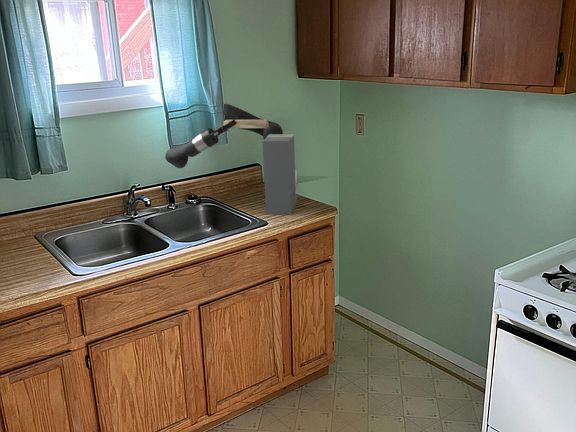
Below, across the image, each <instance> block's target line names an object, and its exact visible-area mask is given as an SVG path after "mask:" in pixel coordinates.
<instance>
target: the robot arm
mask: <svg viewBox="0 0 576 432" xmlns="http://www.w3.org/2000/svg"><path fill="white" fill-rule="evenodd" d="M223 104H224V115H225V120H232V121H231V122H229V123H227V124H225V125H224V123H223V124H222V125H220V126H217V127H216V128H214V129H213V128H211V127H208V128H206V129H205V130H203V131H202V132H200V133H198V134H197V135H196V136H195V137H193V138H192V139H189V142H187V143H185V144H181V145H179V146H178V147H176V148H175V149H171V148H169V149H168V150H167V151H166V153H165V156H164V158H165V160H166V162H168V163H169V164H171V165H172V166H173V167H175V168H177V169H183V168H184V167H186V166H187V164H188V161H189V157H190V158H194V157H196V156H198V155H200V154H201V153H202V152H205V151H207V150H209V149H210V148H212V147H213V146H215V145H216V144H218V143H219V141H220V139H219V137H222V136H223V135H224V134H225V133H227V132H228V131H229V130H230V129H232V128H231V127H232V126H234V125H236V124H237V123H236V121H235V120H265V119H263V118H260V117H259V116H256V115H254V114H252V113H250V112H248V111H246V110H243V109H241V108H239V107H236V106H235V105H232V104H228V103H223ZM238 129H240V130H242V131H243V130H245V131H248V132H249V131H250V132H253V133H256V134H258V135H259V136H261V137H262V138H263V140H264V139H265V138H266V137H267V136H268V135H269V134H284V132H283V127H282V126H281V124H279V123H277V122H275V121H274V122H273V121H270V120H268V127H267V128H238ZM263 140H262V141H263Z"/></svg>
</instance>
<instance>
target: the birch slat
mask: <svg viewBox="0 0 576 432" xmlns="http://www.w3.org/2000/svg"><path fill="white" fill-rule="evenodd" d="M231 121H232V120H225V121H223V122H222V123H223V124H224V125H225V124H227V123H229V122H231ZM235 121H236V123H237V124H236V125H234V126H232V127H231V128H230V129H239V128H267V127H268V121H269V119H264V120H235Z"/></svg>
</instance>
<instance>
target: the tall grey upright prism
mask: <svg viewBox="0 0 576 432" xmlns="http://www.w3.org/2000/svg"><path fill="white" fill-rule="evenodd" d="M295 154H296V153H295V134H293V133H290V134H289V133H283V134H269V135H268V136H267V137H266V138H265V139H264V140H262V157H263V175H264V176H263V177H264V178H263V179H264V180H263V181H264V197H265V198H264V200H265V215H292V213H293V212H294V211H295V208H296V206H297V200H296V197H297V194H296V193H297V186H296V185H295V168H296V158H295Z"/></svg>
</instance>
